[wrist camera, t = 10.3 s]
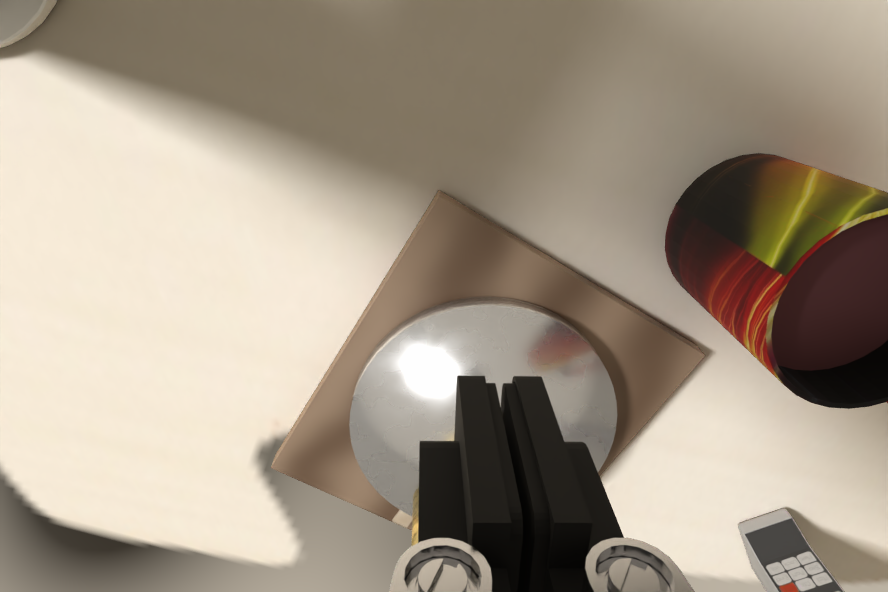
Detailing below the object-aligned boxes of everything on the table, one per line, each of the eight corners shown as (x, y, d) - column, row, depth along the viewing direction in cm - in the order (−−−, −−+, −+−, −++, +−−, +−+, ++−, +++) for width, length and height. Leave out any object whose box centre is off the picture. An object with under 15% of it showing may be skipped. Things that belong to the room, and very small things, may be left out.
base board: (275, 454, 43) (270, 469, 41) (438, 189, 35) (439, 197, 34) (510, 559, 47) (513, 577, 46) (695, 344, 40) (706, 356, 39)
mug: (815, 344, 40) (962, 459, 29) (636, 274, 38) (722, 370, 27) (909, 214, 37) (1115, 289, 26) (718, 127, 35) (856, 169, 24)
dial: (439, 246, 35) (442, 289, 29) (663, 375, 39) (706, 437, 33) (306, 452, 41) (286, 524, 35) (515, 548, 44) (529, 627, 38)
